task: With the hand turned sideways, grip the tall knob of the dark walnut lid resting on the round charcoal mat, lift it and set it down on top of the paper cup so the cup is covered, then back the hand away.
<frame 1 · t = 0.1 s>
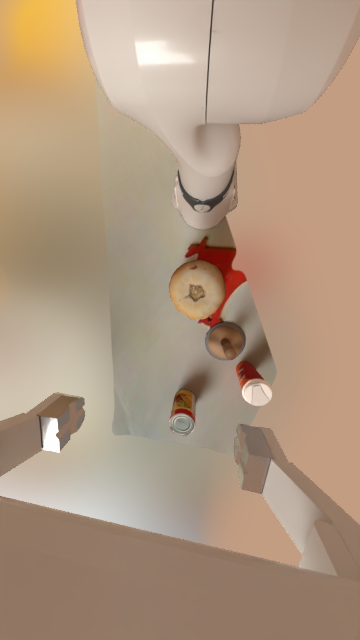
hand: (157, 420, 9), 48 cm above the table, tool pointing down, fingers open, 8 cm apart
walnut lid: (224, 341, 56), resting on charcoal mat
butternut squash: (197, 286, 54), on the table
paper cup: (244, 369, 58), on the table
charcoal mat: (224, 341, 57), on the table
canned food: (185, 398, 63), on the table
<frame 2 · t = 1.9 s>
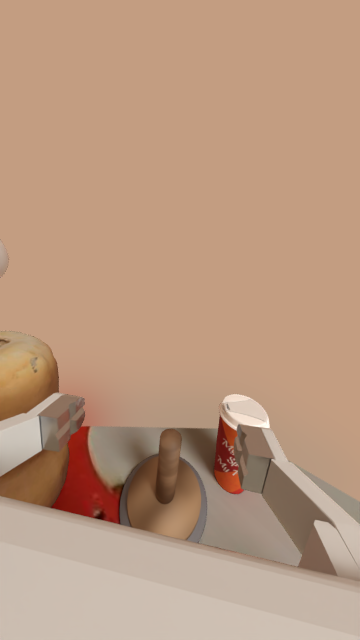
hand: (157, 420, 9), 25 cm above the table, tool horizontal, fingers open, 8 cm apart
walnut lid: (164, 495, 26), resting on charcoal mat
butternut squash: (10, 520, 22), on the table
paper cup: (230, 476, 30), on the table
charcoal mat: (164, 497, 26), on the table
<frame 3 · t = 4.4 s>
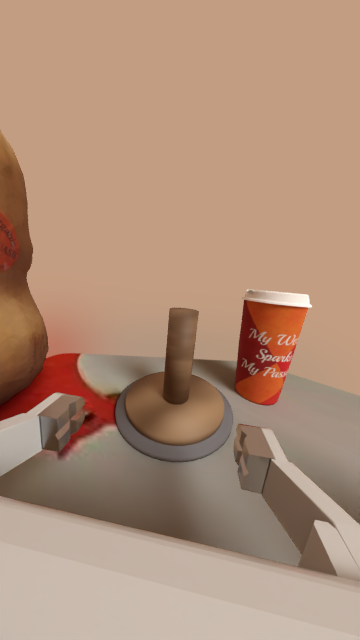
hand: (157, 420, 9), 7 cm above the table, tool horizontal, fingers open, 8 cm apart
walnut lid: (175, 401, 20), resting on charcoal mat
paper cup: (255, 392, 24), on the table
charcoal mat: (174, 404, 20), on the table
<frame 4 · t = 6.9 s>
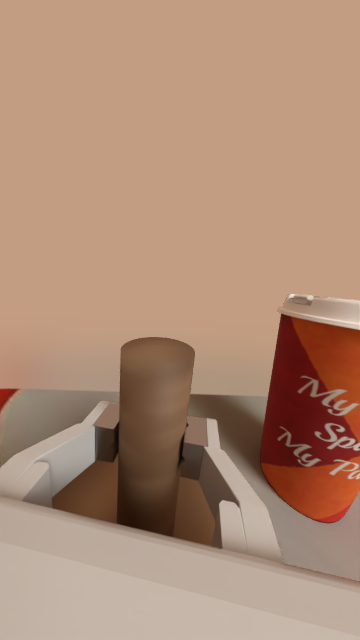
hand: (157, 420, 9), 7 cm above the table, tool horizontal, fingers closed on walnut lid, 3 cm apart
walnut lid: (145, 533, 9), resting on charcoal mat, touching gripper
paper cup: (297, 477, 13), on the table
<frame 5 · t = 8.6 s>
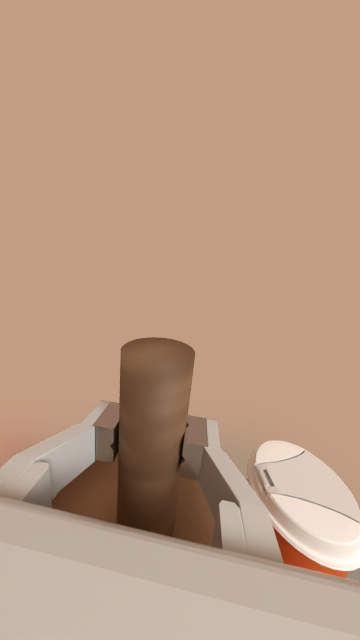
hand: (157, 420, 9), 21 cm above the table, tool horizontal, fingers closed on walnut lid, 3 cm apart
walnut lid: (145, 534, 9), point 15 cm above the table, touching gripper
paper cup: (268, 595, 16), on the table
when the fingers open (22 cm above the table, at t = 10.7 s): walnut lid drops 1 cm, resting on paper cup.
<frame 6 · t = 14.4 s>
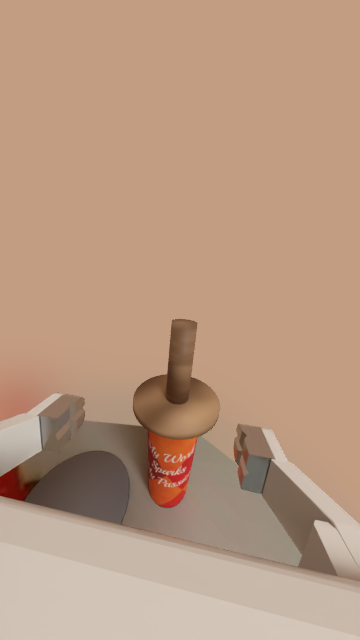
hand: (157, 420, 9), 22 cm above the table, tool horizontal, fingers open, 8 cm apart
walnut lid: (176, 401, 22), point 14 cm above the table, touching paper cup
paper cup: (168, 485, 25), on the table, touching walnut lid
charcoal mat: (77, 501, 22), on the table
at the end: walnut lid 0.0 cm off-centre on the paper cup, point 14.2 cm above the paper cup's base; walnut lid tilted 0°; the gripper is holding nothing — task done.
